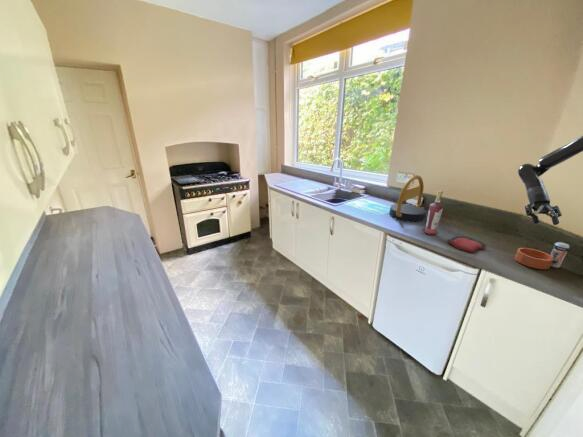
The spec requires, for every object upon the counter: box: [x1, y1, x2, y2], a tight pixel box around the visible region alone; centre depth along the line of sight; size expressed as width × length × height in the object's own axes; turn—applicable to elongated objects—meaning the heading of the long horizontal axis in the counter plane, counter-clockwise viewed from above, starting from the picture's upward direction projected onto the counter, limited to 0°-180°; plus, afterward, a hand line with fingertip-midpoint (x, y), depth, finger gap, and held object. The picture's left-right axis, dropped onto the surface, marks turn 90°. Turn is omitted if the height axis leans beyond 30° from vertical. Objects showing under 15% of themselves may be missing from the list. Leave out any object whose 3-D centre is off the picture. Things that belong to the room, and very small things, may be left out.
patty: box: [447, 237, 484, 254], centre depth 134 cm, size 18×14×2 cm
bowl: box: [514, 247, 554, 270], centre depth 116 cm, size 13×13×6 cm
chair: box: [388, 174, 427, 223], centre depth 173 cm, size 25×35×32 cm
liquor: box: [423, 189, 445, 236], centre depth 145 cm, size 7×7×28 cm
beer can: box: [549, 241, 570, 269], centre depth 114 cm, size 5×5×12 cm
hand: (546, 223), depth 120 cm, fingers open, 8 cm apart
